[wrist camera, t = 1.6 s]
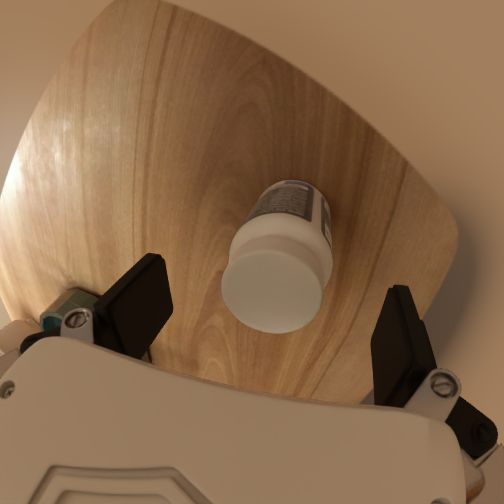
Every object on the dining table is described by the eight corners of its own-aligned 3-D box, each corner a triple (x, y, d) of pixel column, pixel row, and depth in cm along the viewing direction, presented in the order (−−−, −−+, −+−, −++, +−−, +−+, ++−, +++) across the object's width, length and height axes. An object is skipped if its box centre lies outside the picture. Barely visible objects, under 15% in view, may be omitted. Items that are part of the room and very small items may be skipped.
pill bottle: (243, 219, 19) (190, 297, 12) (285, 163, 16) (251, 213, 9) (300, 260, 19) (281, 355, 12) (346, 211, 17) (359, 294, 10)
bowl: (51, 273, 28) (25, 296, 24) (140, 307, 26) (113, 341, 22) (81, 349, 35) (64, 371, 31) (160, 384, 33) (144, 413, 29)
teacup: (73, 372, 42) (47, 408, 34) (22, 326, 41) (-6, 356, 33) (71, 345, 36) (37, 388, 28) (14, 291, 35) (-22, 325, 26)
